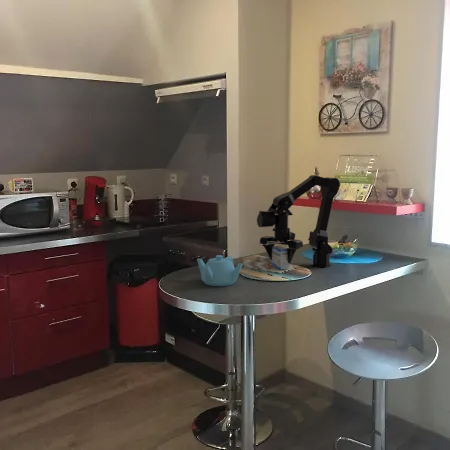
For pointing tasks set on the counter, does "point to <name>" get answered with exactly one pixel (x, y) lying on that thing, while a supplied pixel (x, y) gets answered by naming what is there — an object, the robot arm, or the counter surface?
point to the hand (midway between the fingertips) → (280, 261)
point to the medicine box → (280, 257)
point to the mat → (280, 269)
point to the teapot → (219, 271)
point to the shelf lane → (256, 262)
